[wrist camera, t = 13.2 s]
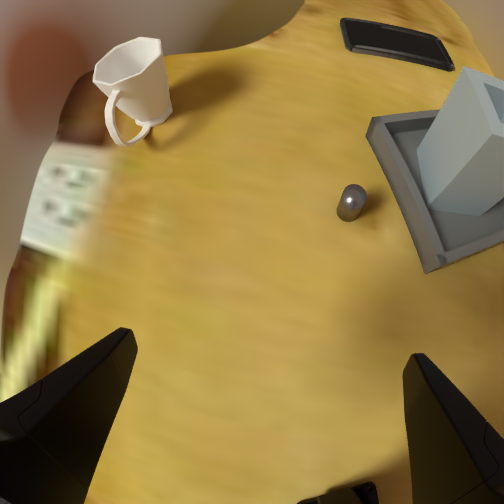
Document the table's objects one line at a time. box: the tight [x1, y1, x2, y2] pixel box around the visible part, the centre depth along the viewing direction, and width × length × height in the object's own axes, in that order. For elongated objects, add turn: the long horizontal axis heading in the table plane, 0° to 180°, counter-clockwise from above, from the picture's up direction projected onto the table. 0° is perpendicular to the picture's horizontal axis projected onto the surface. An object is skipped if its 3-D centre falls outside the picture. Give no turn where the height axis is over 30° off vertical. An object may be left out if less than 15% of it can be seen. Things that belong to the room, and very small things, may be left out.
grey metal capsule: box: [337, 184, 367, 222], centre depth 23 cm, size 2×2×3 cm
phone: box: [340, 18, 454, 72], centre depth 30 cm, size 8×1×15 cm
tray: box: [366, 110, 504, 274], centre depth 23 cm, size 14×12×3 cm
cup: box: [93, 37, 173, 147], centre depth 25 cm, size 7×10×8 cm
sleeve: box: [417, 66, 504, 217], centre depth 19 cm, size 8×6×11 cm
